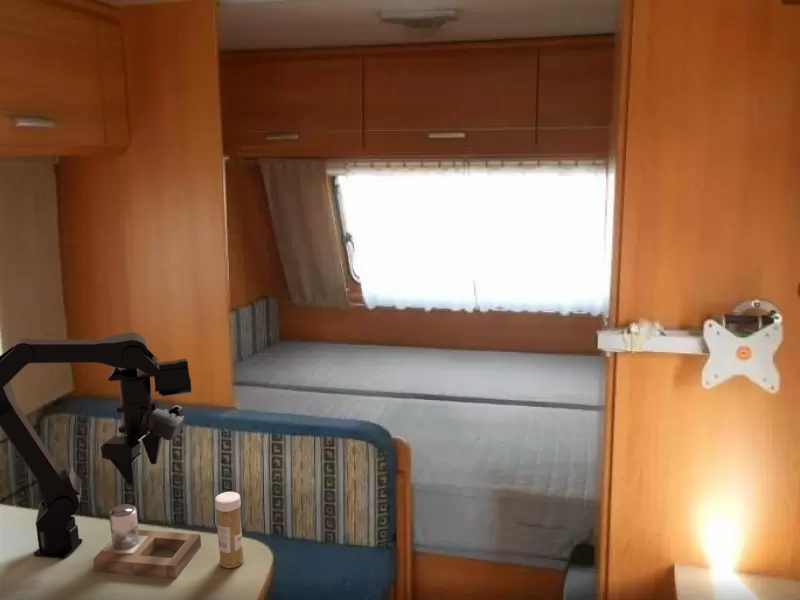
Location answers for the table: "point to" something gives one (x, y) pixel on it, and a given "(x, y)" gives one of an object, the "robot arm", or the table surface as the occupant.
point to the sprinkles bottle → (229, 529)
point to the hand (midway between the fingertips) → (142, 473)
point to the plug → (124, 527)
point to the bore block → (140, 555)
